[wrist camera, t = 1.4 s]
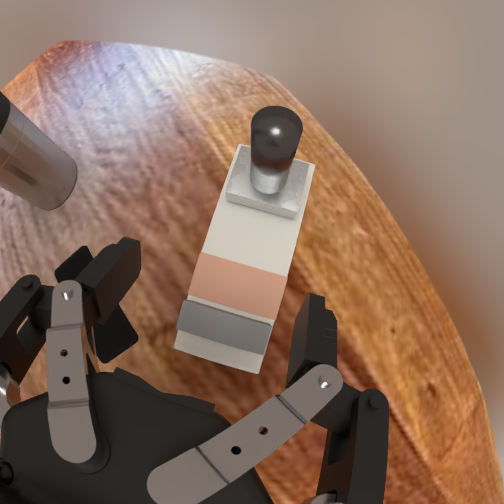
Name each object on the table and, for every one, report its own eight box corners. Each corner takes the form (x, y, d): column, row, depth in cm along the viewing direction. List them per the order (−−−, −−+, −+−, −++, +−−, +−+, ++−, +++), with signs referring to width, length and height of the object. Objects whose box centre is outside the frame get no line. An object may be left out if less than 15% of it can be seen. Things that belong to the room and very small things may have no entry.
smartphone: (84, 242, 34) (139, 339, 32) (87, 244, 35) (141, 339, 33) (52, 271, 33) (102, 365, 31) (55, 272, 34) (105, 364, 32)
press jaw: (241, 157, 34) (239, 88, 21) (304, 174, 34) (332, 112, 21) (226, 200, 33) (215, 143, 20) (293, 219, 33) (319, 171, 20)
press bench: (238, 151, 37) (237, 126, 31) (312, 171, 36) (323, 149, 30) (176, 345, 32) (162, 354, 27) (258, 370, 32) (260, 384, 26)
